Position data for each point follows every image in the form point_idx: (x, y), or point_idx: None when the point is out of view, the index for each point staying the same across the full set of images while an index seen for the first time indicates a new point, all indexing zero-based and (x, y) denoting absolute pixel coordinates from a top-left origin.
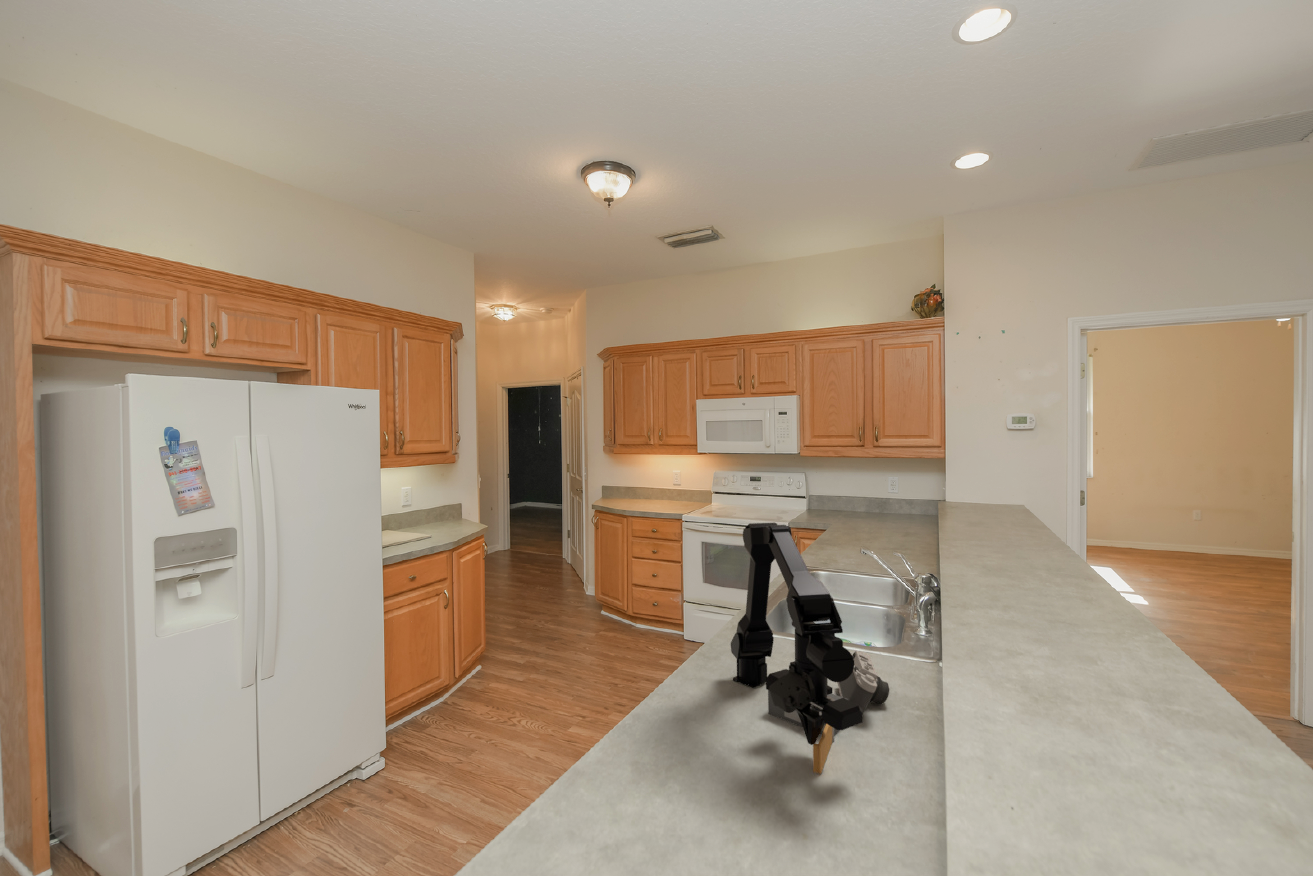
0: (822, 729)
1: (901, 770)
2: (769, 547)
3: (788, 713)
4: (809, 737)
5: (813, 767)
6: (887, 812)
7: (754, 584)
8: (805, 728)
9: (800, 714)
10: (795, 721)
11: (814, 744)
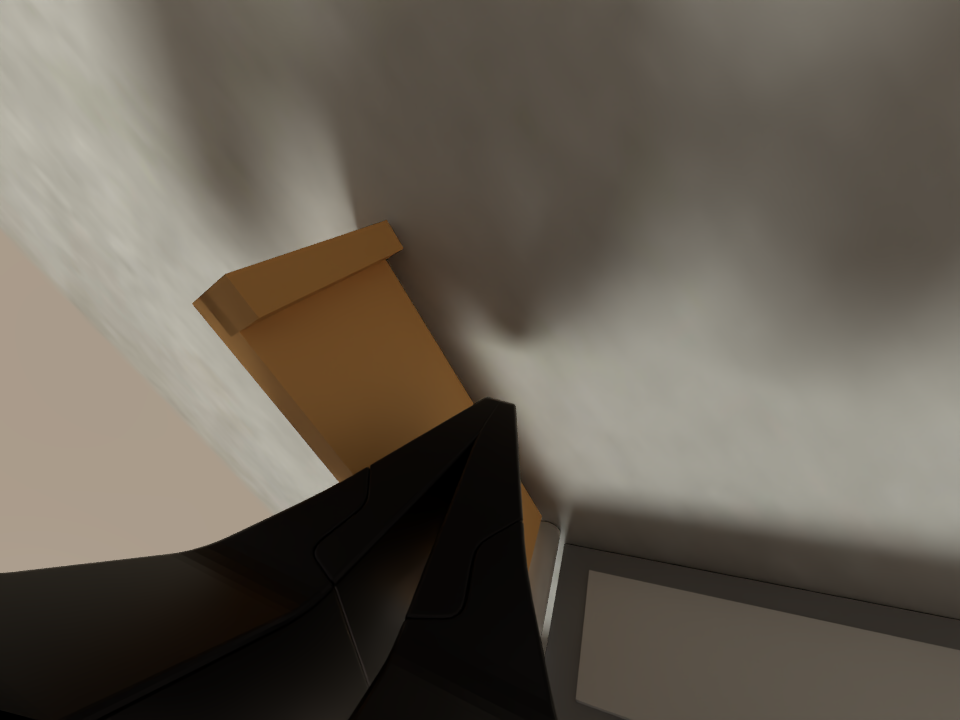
0: (604, 583)
1: (294, 479)
2: None
3: (936, 682)
4: (464, 427)
5: (368, 226)
6: (106, 241)
7: None
8: (474, 484)
9: (461, 674)
10: (830, 616)
11: (238, 300)
